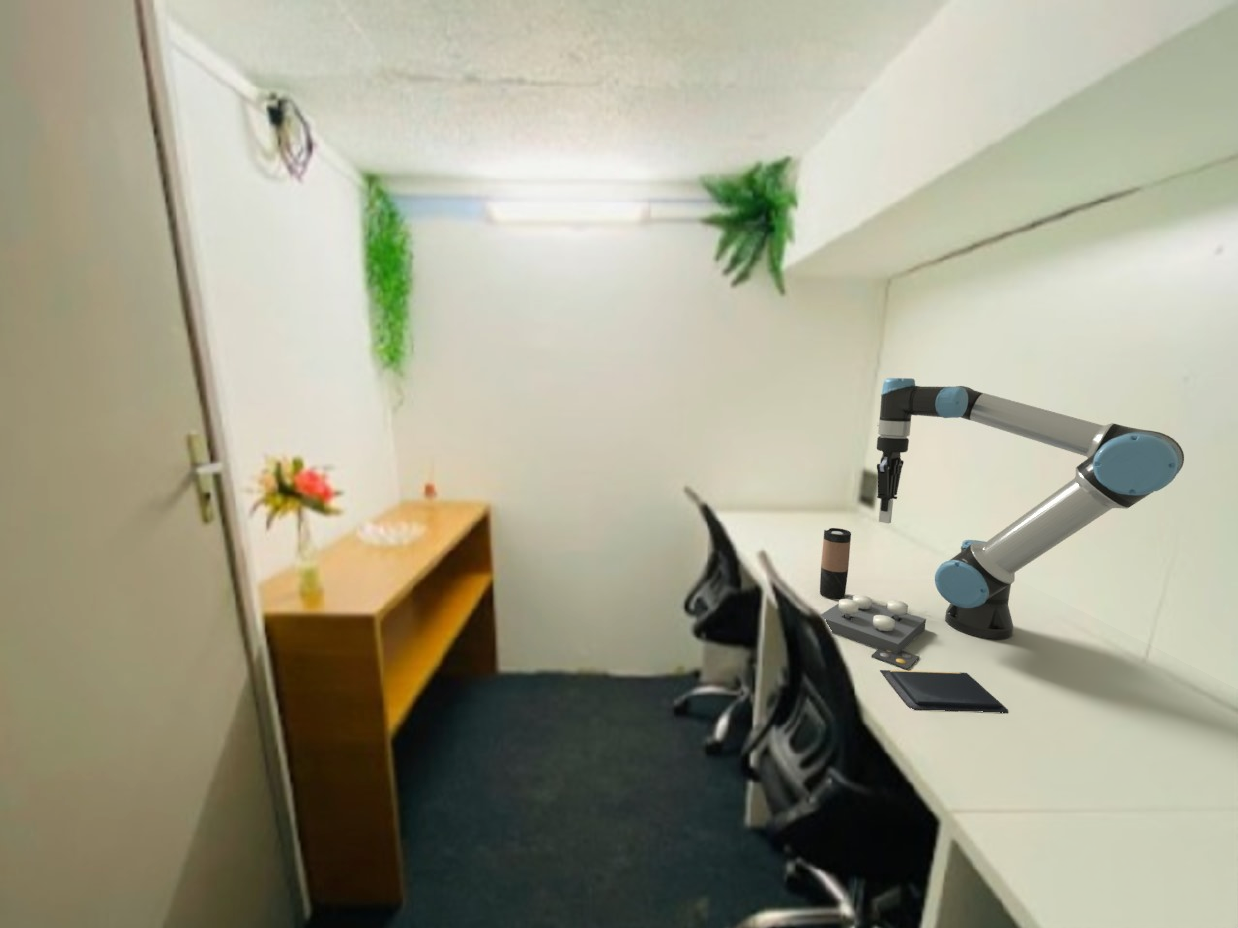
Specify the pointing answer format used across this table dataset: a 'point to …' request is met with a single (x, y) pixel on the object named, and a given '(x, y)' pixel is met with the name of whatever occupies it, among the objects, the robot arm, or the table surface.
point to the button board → (867, 634)
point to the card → (896, 658)
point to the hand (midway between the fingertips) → (884, 521)
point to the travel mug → (835, 563)
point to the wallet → (941, 691)
